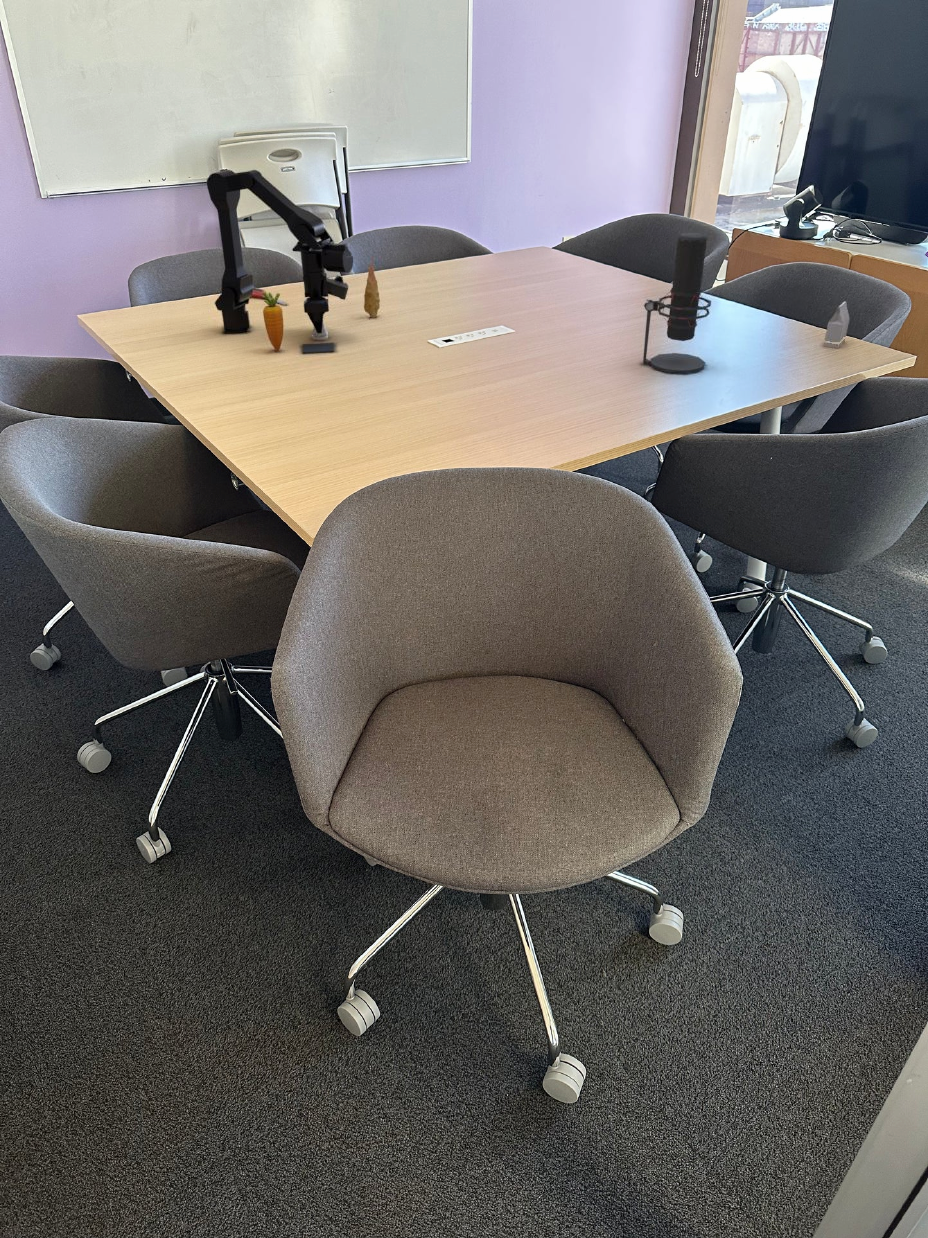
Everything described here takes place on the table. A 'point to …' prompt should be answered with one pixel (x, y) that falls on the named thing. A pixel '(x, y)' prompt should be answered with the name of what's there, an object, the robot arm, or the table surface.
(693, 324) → the microphone
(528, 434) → the table surface
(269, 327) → the carrot
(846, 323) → the grey pointed faceted piece
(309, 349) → the coaster
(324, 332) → the rook chess piece
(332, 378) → the table surface
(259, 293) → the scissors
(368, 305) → the stone tool
